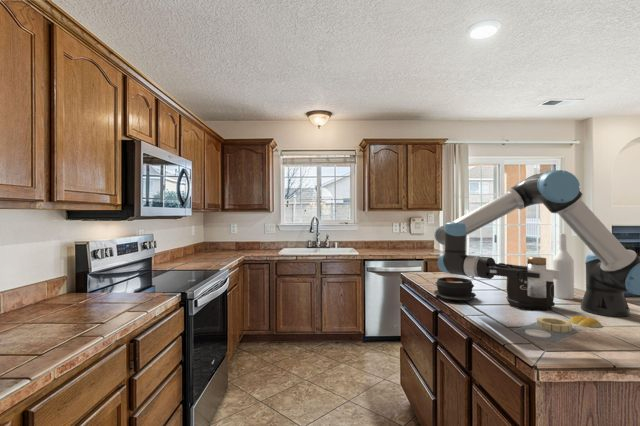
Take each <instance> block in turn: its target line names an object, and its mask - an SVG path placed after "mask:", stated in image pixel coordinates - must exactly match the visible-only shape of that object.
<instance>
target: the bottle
mask: <svg viewBox="0 0 640 426" xmlns="http://www.w3.org/2000/svg"><path fill="white" fill-rule="evenodd" d="M558 235H559V249H558V251H557V253H556V254H555V255H554V256H553V259H552V270H559V271H560V280H558V279H553V282H554V299H555V298H557V299H560V300H574V299H575V285H574V284H575V276H574V275H575V272H574V271H575V269H574V268H575V263H574V259H573V258H572V255H571V254H570V253H569V252H568V250H567V233H565V232H564V233H561V232H560V233H559V234H558Z"/></svg>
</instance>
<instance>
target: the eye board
mask: <svg viewBox="0 0 640 426" xmlns="http://www.w3.org/2000/svg"><path fill="white" fill-rule="evenodd" d="M581 330H582V329H580V328H577V327H573V323H571V322H570V320H569V321H568V320H566V319H563V318H557V317H550V316H548V317H547V316H540V317H537V318H536V321H535V322H533V323H529V324H527V325H525V326H522V327H519V328H516V329H513V330H512V332H514V333H518V334H521V335H525V336H528V337H529V336H530V337H532V338H536V339H540V340H544V341H547V342H551V343H555V342H557V341H560V340H561V339H565V338H566V337H568V336H570V335H573V334H575V333H577V332H580V331H581Z"/></svg>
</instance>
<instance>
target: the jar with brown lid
mask: <svg viewBox="0 0 640 426" xmlns="http://www.w3.org/2000/svg"><path fill="white" fill-rule="evenodd" d="M526 263H527V270H528V272H529V270H536V271H545V272H546V269H547V258H546V257H541V256H540V257H539V256H527V262H526ZM528 296H530V297H536V298H546V281H542V280H535V279H529V277H528Z"/></svg>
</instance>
